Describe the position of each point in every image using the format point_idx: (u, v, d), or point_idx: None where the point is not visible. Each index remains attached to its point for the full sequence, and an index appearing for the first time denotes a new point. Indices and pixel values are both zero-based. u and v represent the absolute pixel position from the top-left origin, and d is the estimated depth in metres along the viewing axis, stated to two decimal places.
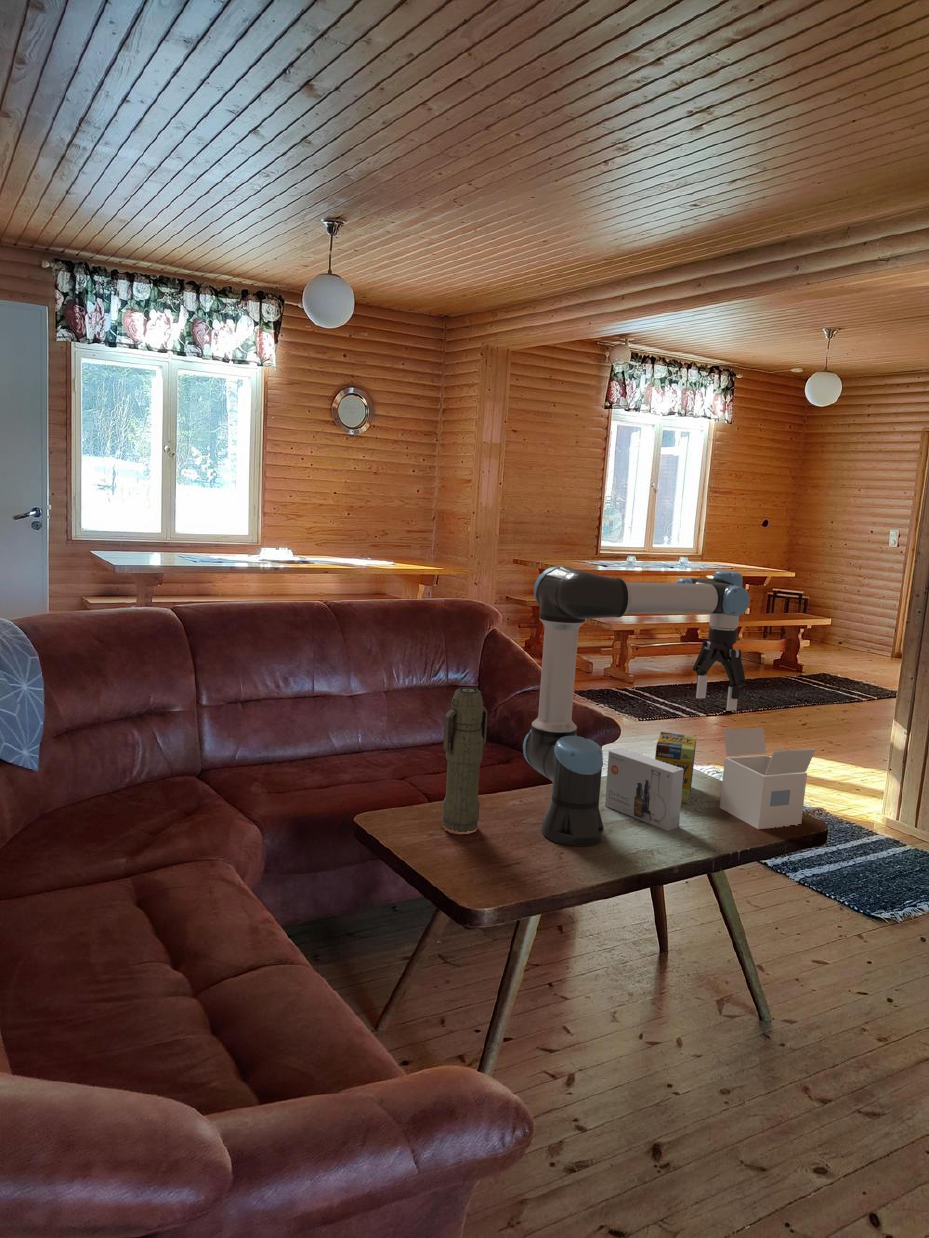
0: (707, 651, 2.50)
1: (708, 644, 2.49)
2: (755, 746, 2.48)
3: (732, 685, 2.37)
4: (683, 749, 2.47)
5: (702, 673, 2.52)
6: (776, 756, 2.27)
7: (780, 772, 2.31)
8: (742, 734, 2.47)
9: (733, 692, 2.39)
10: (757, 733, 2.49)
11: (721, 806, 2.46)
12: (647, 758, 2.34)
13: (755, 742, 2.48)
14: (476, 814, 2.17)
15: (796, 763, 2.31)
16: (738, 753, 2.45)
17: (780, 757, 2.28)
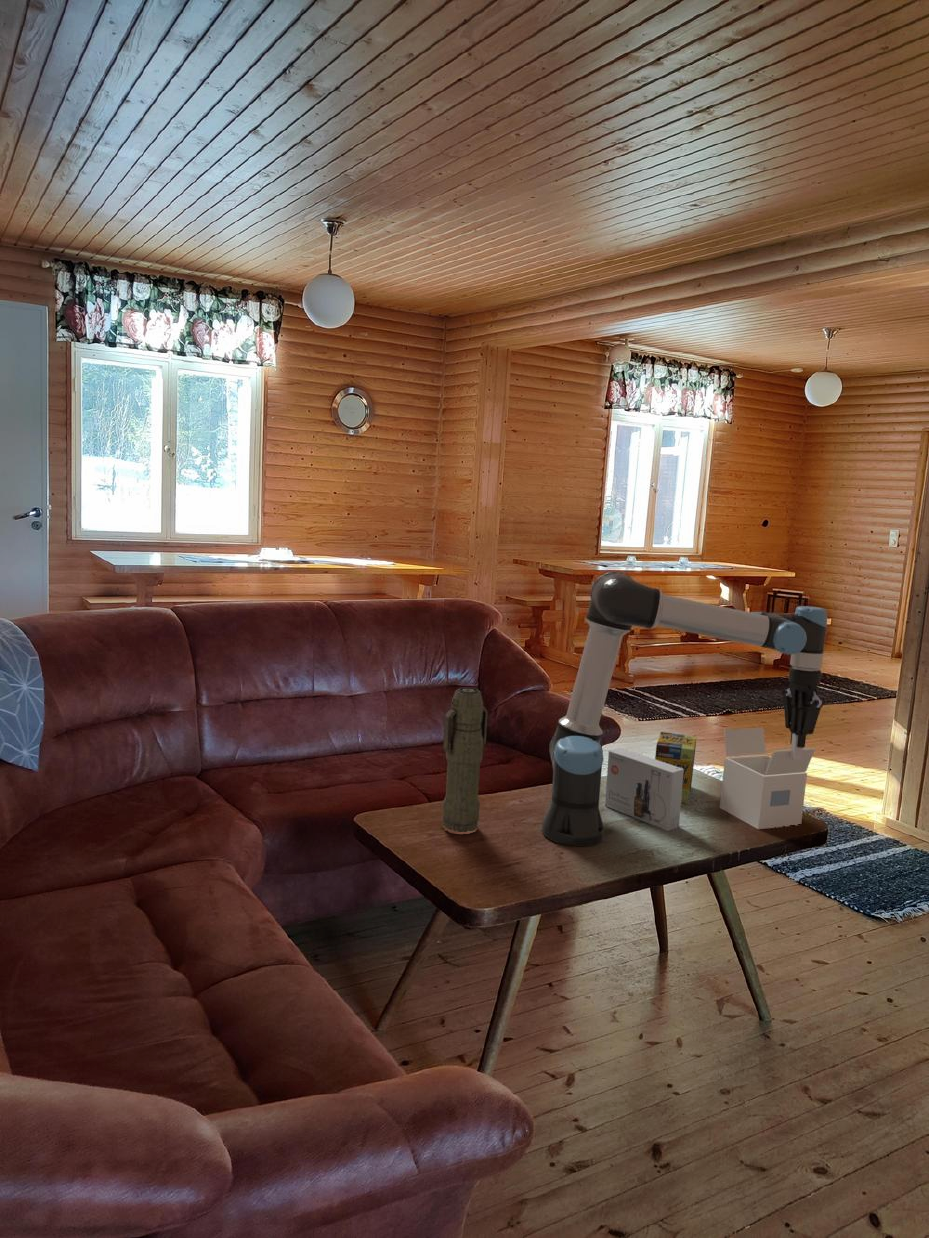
0: (791, 699, 2.30)
1: (788, 690, 2.30)
2: (755, 746, 2.48)
3: (798, 734, 2.25)
4: (683, 749, 2.47)
5: (797, 729, 2.28)
6: (776, 756, 2.27)
7: (780, 772, 2.31)
8: (742, 734, 2.47)
9: (799, 740, 2.26)
10: (757, 733, 2.49)
11: (721, 806, 2.46)
12: (647, 758, 2.34)
13: (755, 742, 2.48)
14: (476, 814, 2.17)
15: (796, 763, 2.31)
16: (738, 753, 2.45)
17: (780, 757, 2.28)
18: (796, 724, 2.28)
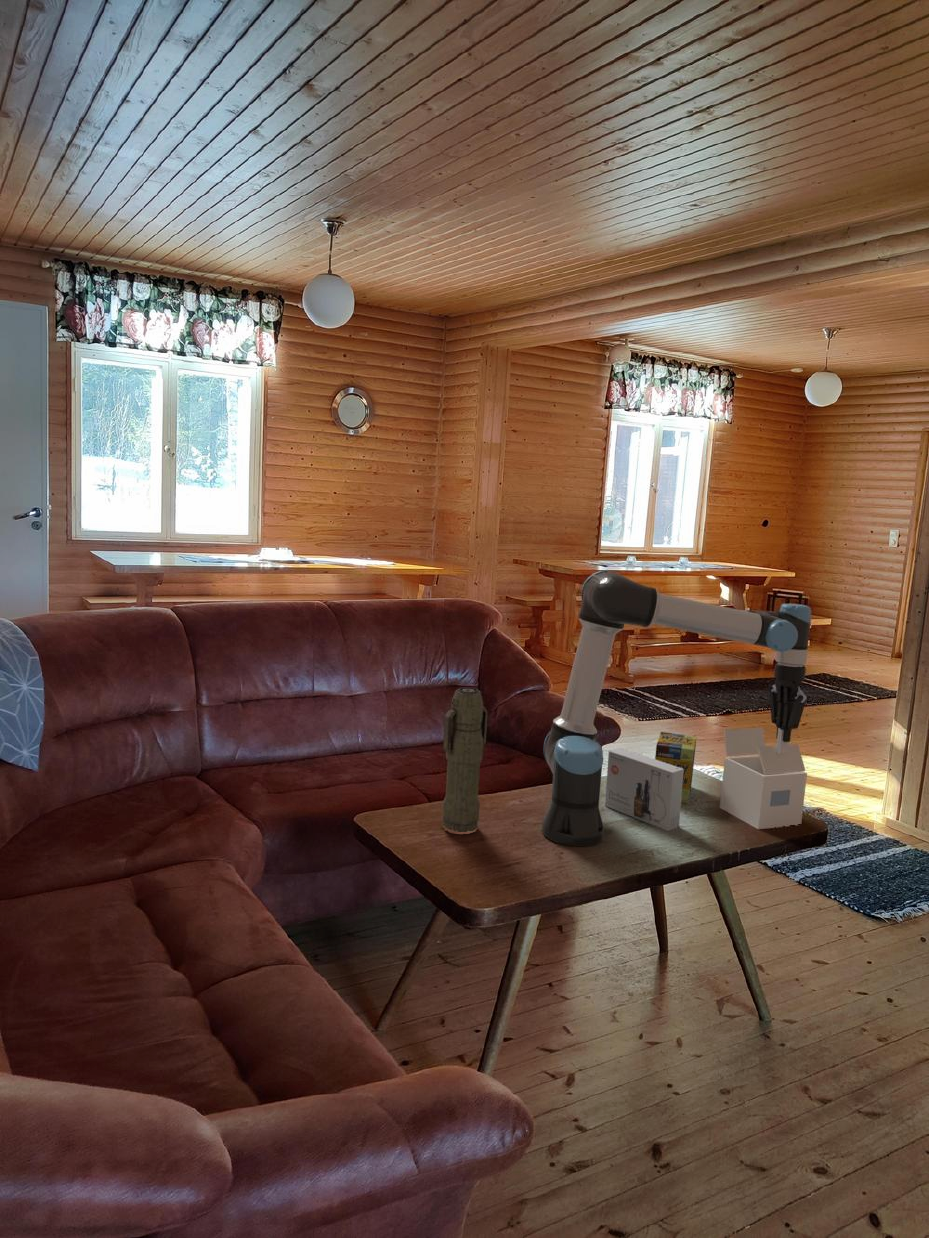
0: (776, 695, 2.35)
1: (774, 686, 2.35)
2: (755, 746, 2.48)
3: (783, 729, 2.30)
4: (683, 749, 2.47)
5: (782, 724, 2.33)
6: (763, 751, 2.32)
7: (779, 771, 2.31)
8: (742, 734, 2.47)
9: (784, 735, 2.31)
10: (757, 733, 2.49)
11: (721, 806, 2.46)
12: (647, 758, 2.34)
13: (755, 742, 2.48)
14: (476, 814, 2.17)
15: (789, 760, 2.34)
16: (738, 753, 2.45)
17: (767, 752, 2.32)
18: (782, 719, 2.33)
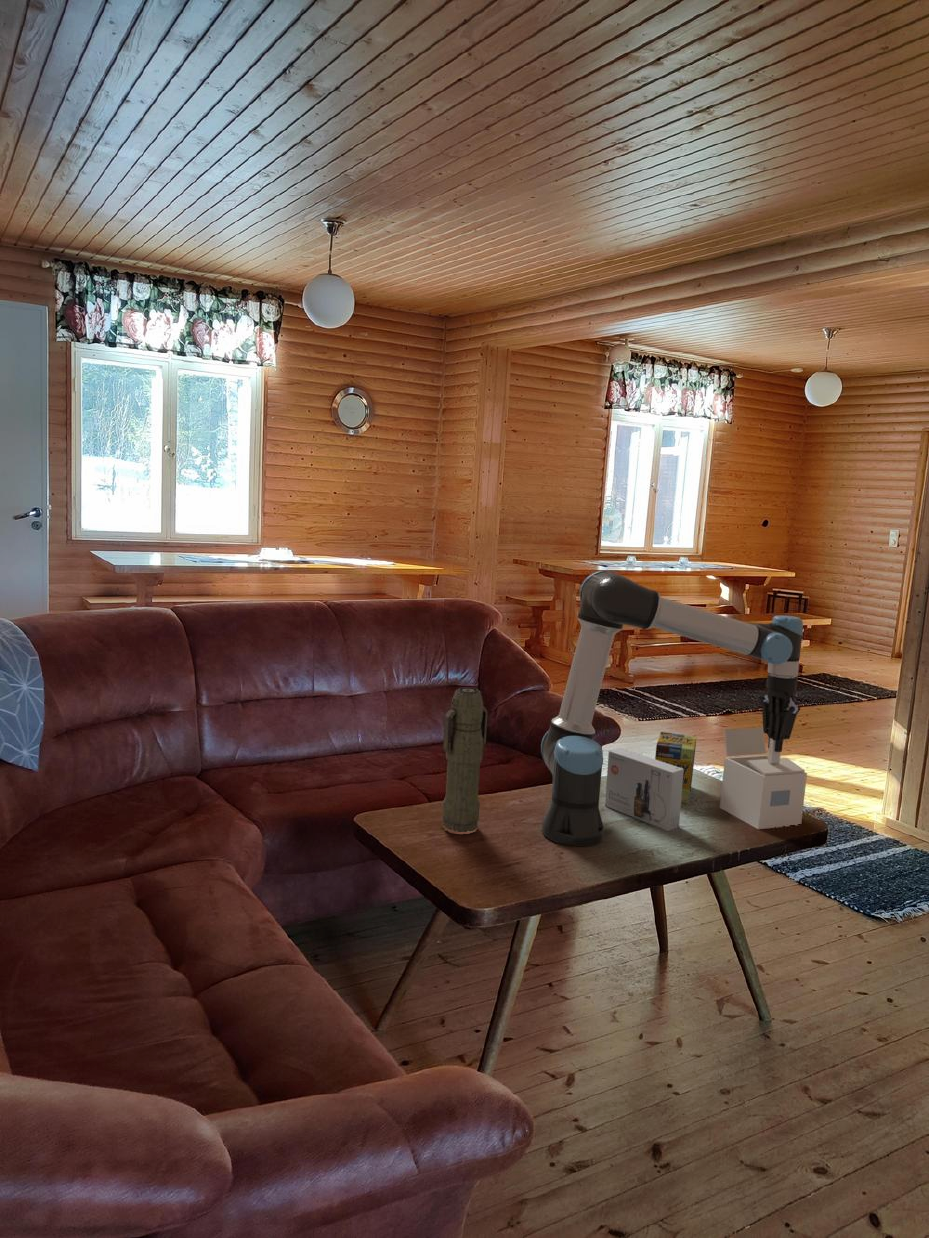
0: (768, 705, 2.38)
1: (766, 696, 2.38)
2: (755, 746, 2.48)
3: (775, 739, 2.33)
4: (683, 749, 2.47)
5: (774, 734, 2.36)
6: (754, 762, 2.35)
7: (778, 771, 2.32)
8: (742, 734, 2.47)
9: (776, 745, 2.34)
10: (757, 733, 2.49)
11: (721, 806, 2.46)
12: (647, 758, 2.34)
13: (755, 742, 2.48)
14: (476, 814, 2.17)
15: (784, 765, 2.36)
16: (738, 753, 2.45)
17: (759, 763, 2.35)
18: (773, 729, 2.36)
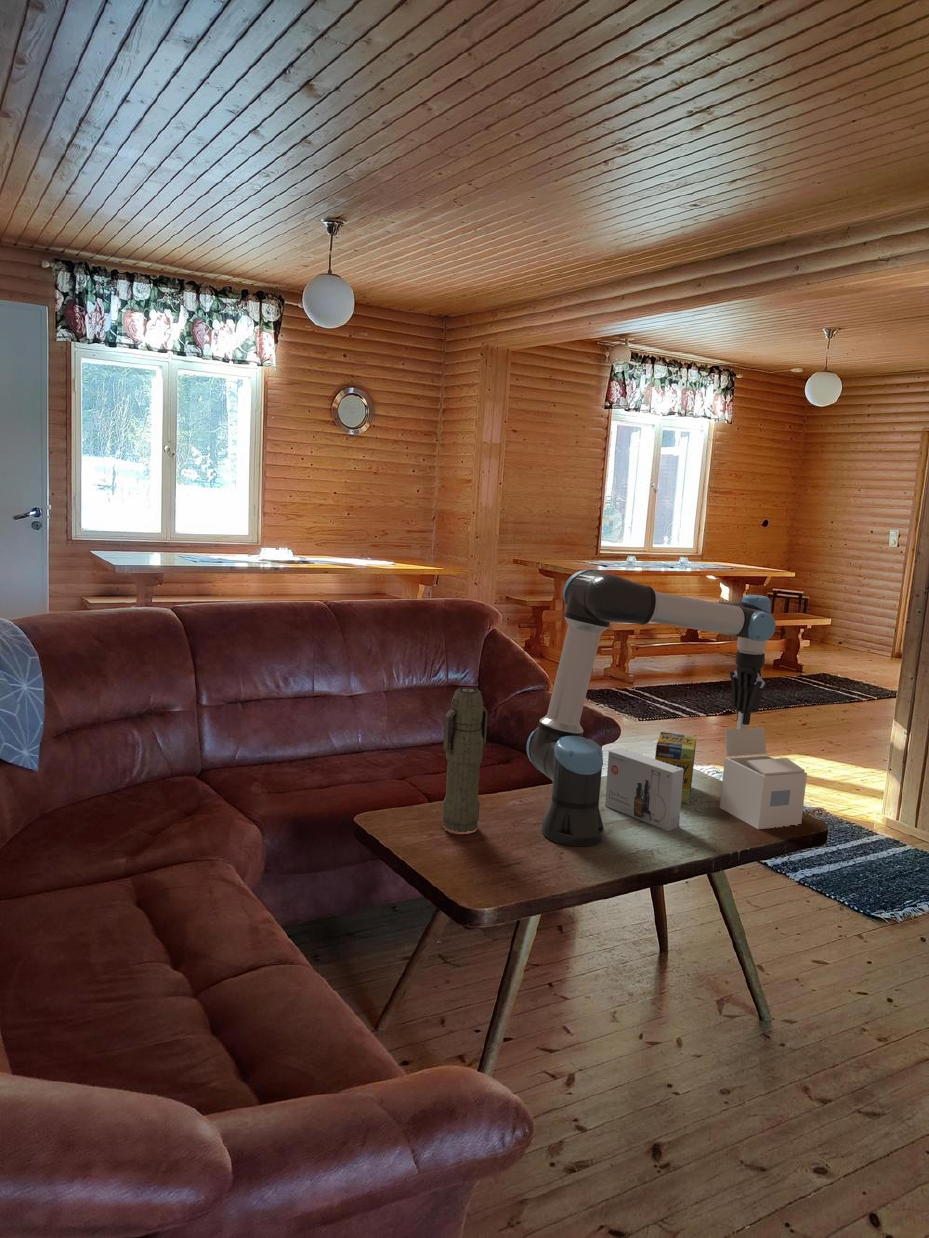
0: (738, 680, 2.50)
1: (735, 672, 2.50)
2: (755, 746, 2.47)
3: (743, 712, 2.45)
4: (683, 749, 2.47)
5: (742, 708, 2.48)
6: (754, 762, 2.35)
7: (778, 771, 2.32)
8: (743, 734, 2.46)
9: (744, 718, 2.46)
10: (758, 733, 2.48)
11: (721, 806, 2.46)
12: (647, 758, 2.34)
13: (755, 742, 2.48)
14: (476, 814, 2.17)
15: (784, 765, 2.36)
16: (738, 753, 2.45)
17: (759, 763, 2.35)
18: (742, 703, 2.47)
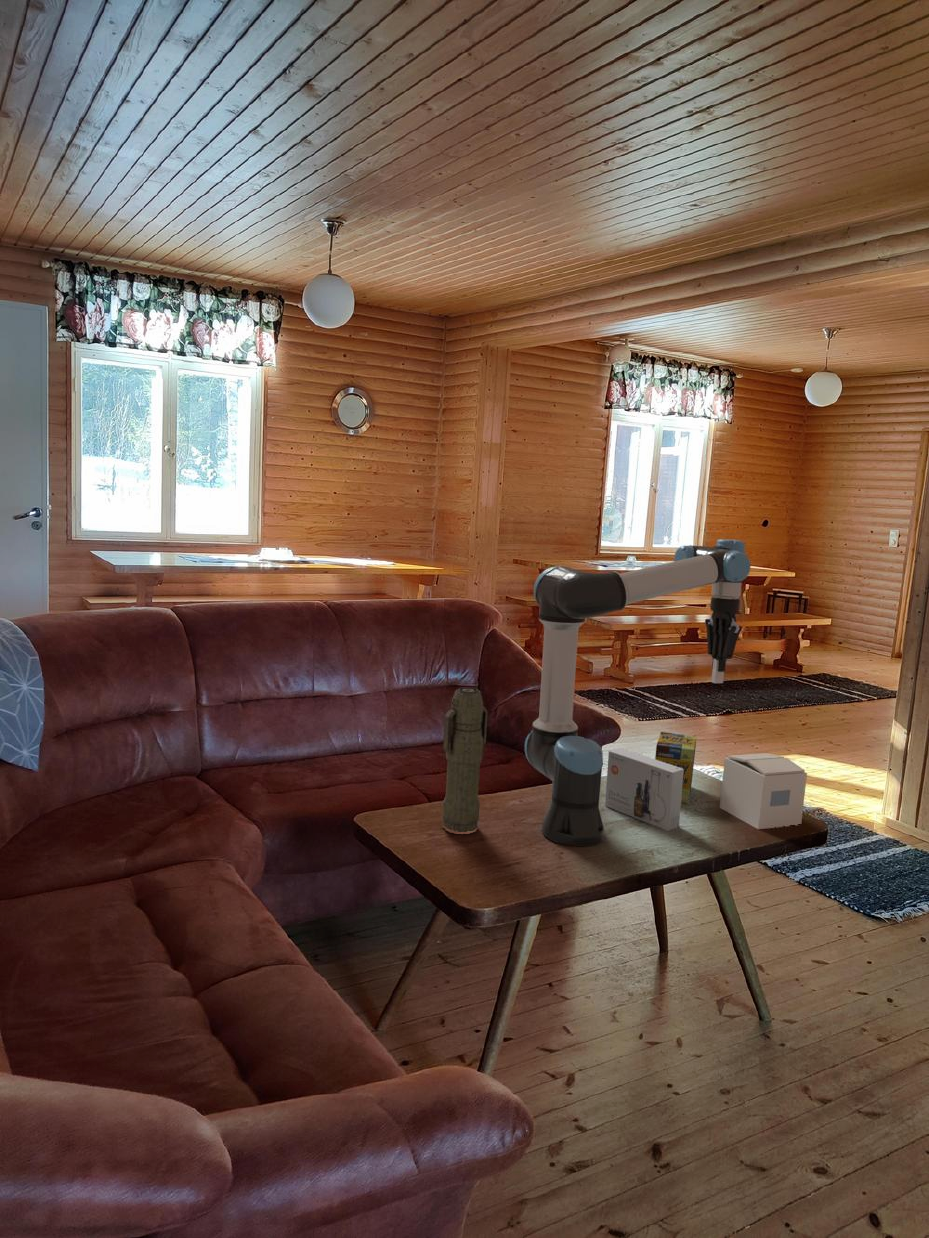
0: (713, 627, 2.46)
1: (710, 619, 2.46)
2: None
3: (718, 659, 2.41)
4: (683, 749, 2.47)
5: (718, 655, 2.44)
6: (754, 762, 2.35)
7: (778, 771, 2.32)
8: None
9: (719, 665, 2.42)
10: None
11: (721, 806, 2.46)
12: (647, 758, 2.34)
13: None
14: (476, 814, 2.17)
15: (784, 765, 2.36)
16: None
17: (759, 763, 2.35)
18: (717, 650, 2.43)
